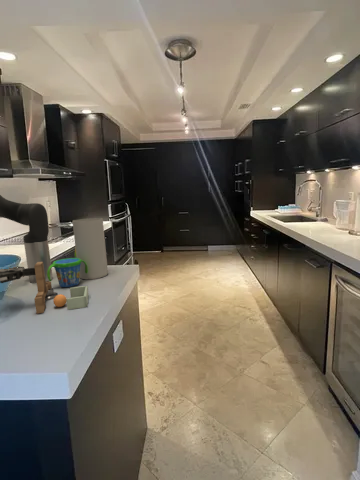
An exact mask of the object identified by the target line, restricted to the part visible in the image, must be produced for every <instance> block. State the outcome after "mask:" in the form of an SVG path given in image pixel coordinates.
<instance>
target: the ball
mask: <svg viewBox="0 0 360 480" xmlns="http://www.w3.org/2000/svg"><path fill="white" fill-rule="evenodd" d="M66 299H67V296H66V295H64V294H58V295H57V296H55V298H53V304H54V306H55V307H57V308H61V307H64V306H65V305H67V301H66Z"/></svg>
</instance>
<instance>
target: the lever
mask: <svg viewBox="0 0 360 480" xmlns="http://www.w3.org/2000/svg"><path fill="white" fill-rule="evenodd" d="M34 267H35V274H36V281H37V283H36V287H37V293H36V295H35V297H34V306H35V313H36V314H37V315H38V314H43V313H44V312H45V310H46V308H47V305H46V300H45V296H46V294H47V291H48V289H51V288H53V286H52V281H46V280H45V273H44V265H43V262H37V263H36V264H35V266H34Z"/></svg>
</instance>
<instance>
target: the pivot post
mask: <svg viewBox="0 0 360 480" xmlns="http://www.w3.org/2000/svg"><path fill="white" fill-rule="evenodd" d="M57 295H59V294H58V292H57V291H54V287H52V288H51V289H48V291H47V294H46V296H45V301H50V300H52V299H53V300H54V298H55V296H57Z"/></svg>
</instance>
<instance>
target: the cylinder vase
mask: <svg viewBox="0 0 360 480" xmlns="http://www.w3.org/2000/svg"><path fill="white" fill-rule="evenodd" d="M103 219H104V218H102V217H99V218H98V217H95V218H82V219H80V218H79V219H73V220H72V229H73V239H74V245H75V248H76V256H77V258H79V259H81V260H83V261H85V262H86V264H87V266H88V273H85V264H84V263H83V262H81V265H80V279H82V280H97V279H101V278H104V277H106V276H107V275H108V273H109V271H108V270H109V269H108V260H107V250H106V249H107V247H106V240H105V229H104V220H103ZM75 248H74V249H75Z"/></svg>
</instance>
